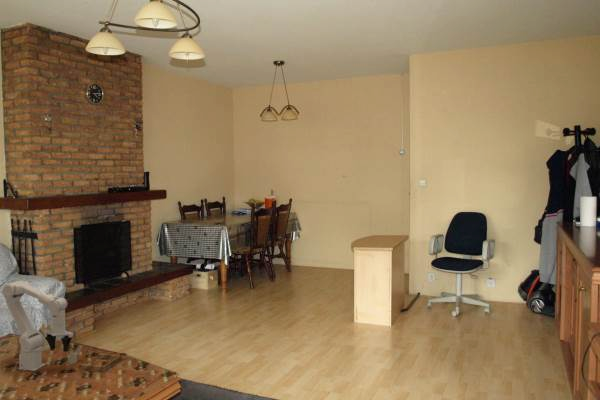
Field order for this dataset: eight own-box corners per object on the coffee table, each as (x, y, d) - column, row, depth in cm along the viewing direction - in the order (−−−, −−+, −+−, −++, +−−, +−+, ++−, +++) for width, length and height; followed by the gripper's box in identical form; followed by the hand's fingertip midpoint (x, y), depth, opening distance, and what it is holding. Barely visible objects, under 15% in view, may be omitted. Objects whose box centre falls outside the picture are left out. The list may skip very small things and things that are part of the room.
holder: (79, 369, 232) (78, 364, 232) (98, 357, 247) (98, 353, 247) (103, 372, 229) (103, 367, 229) (122, 360, 244) (121, 355, 244)
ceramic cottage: (60, 341, 270) (57, 316, 268) (43, 353, 254) (40, 326, 252) (33, 343, 270) (30, 317, 269) (15, 355, 254) (12, 328, 253)
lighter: (69, 365, 238) (68, 349, 237) (67, 364, 239) (67, 348, 238) (82, 360, 243) (82, 345, 243) (80, 359, 244) (80, 344, 244)
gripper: (39, 324, 228) (40, 352, 229) (66, 326, 225) (66, 354, 226) (50, 320, 235) (50, 346, 235) (75, 322, 232) (76, 349, 232)
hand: (59, 350), depth 231 cm, fingers open, 7 cm apart
